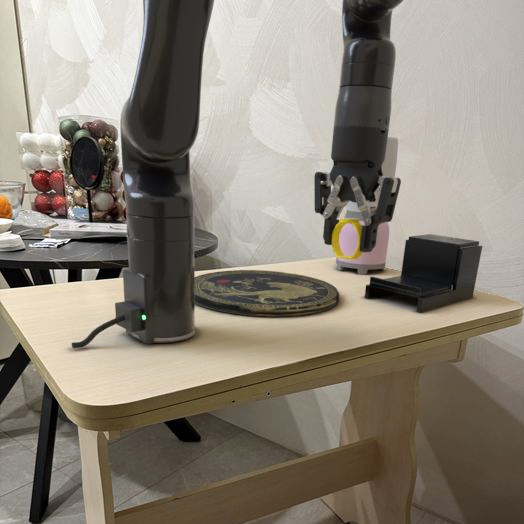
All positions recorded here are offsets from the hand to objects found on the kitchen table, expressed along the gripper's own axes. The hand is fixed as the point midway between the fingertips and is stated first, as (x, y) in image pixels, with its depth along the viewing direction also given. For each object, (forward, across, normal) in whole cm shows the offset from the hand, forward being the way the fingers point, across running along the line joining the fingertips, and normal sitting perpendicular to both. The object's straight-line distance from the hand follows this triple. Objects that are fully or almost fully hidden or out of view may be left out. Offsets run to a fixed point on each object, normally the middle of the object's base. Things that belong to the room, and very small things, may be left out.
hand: (347, 247), depth 77 cm
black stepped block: (+13, -5, +32) cm, 35 cm away
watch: (+2, 0, 0) cm, 2 cm away
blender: (+13, -30, +45) cm, 56 cm away
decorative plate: (+13, -24, +5) cm, 28 cm away
